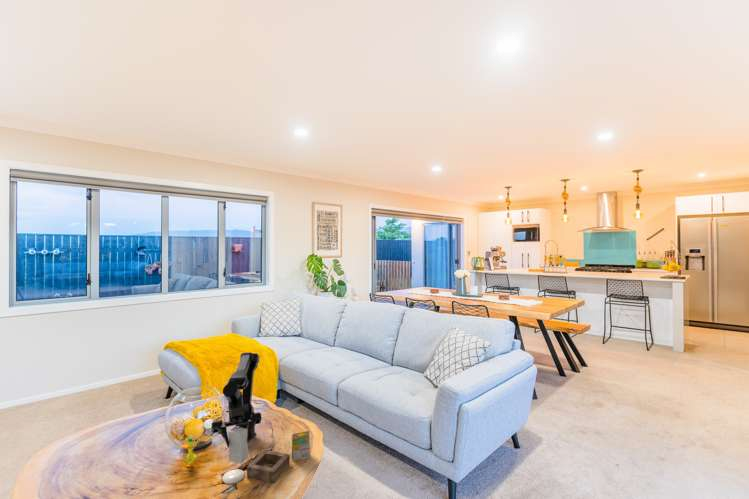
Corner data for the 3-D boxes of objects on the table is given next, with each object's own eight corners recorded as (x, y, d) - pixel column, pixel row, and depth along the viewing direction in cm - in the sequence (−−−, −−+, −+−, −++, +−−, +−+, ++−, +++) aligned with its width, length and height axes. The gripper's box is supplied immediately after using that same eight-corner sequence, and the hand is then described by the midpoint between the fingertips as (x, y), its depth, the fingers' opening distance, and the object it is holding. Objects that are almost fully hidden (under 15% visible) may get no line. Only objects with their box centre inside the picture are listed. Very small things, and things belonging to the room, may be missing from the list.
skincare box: (248, 458, 145) (247, 428, 144) (241, 464, 140) (240, 434, 140) (235, 455, 146) (235, 426, 146) (228, 461, 142) (227, 431, 142)
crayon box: (308, 453, 158) (308, 427, 158) (310, 457, 156) (309, 430, 155) (291, 457, 156) (291, 430, 156) (292, 461, 153) (292, 434, 153)
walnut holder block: (247, 478, 142) (246, 466, 142) (264, 460, 154) (264, 449, 154) (273, 483, 139) (273, 472, 139) (289, 464, 151) (289, 454, 150)
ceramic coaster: (217, 481, 140) (217, 480, 140) (231, 469, 148) (231, 467, 148) (235, 485, 138) (235, 484, 138) (248, 472, 146) (248, 471, 146)
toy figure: (178, 469, 148) (178, 440, 148) (182, 463, 152) (182, 435, 152) (195, 468, 149) (194, 439, 148) (199, 463, 152) (198, 435, 152)
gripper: (211, 401, 142) (212, 443, 133) (260, 393, 150) (264, 432, 141) (211, 412, 150) (212, 453, 140) (258, 403, 158) (262, 441, 148)
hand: (238, 444), depth 142 cm, fingers closed on skincare box, 7 cm apart
